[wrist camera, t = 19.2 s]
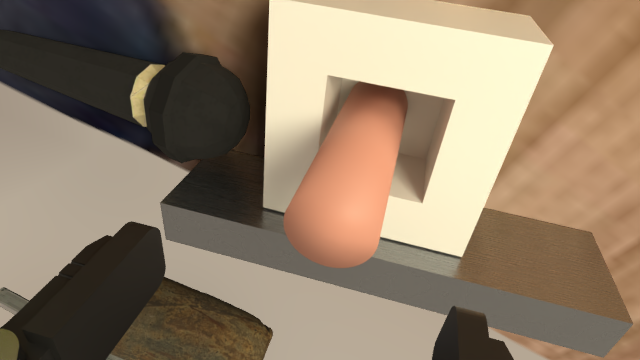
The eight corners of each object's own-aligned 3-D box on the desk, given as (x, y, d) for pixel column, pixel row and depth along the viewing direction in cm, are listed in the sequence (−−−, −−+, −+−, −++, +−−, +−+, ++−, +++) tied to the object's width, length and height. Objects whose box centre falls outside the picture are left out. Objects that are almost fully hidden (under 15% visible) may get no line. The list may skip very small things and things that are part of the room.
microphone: (20, 47, 29) (272, 125, 24) (-54, 96, 26) (222, 198, 21) (-32, -32, 25) (263, 45, 20) (-128, 15, 21) (197, 120, 17)
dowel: (344, 125, 22) (281, 254, 14) (352, 70, 20) (285, 181, 12) (400, 137, 21) (369, 278, 13) (413, 82, 19) (388, 205, 11)
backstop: (216, 179, 27) (165, 239, 22) (214, 146, 25) (160, 202, 20) (570, 264, 23) (603, 357, 19) (591, 232, 22) (633, 323, 17)
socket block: (292, 158, 25) (263, 207, 21) (306, -22, 19) (269, -4, 15) (459, 196, 23) (462, 257, 19) (528, 14, 18) (553, 45, 14)
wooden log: (118, 292, 37) (63, 357, 32) (112, 239, 33) (47, 303, 28) (271, 350, 36) (240, 427, 31) (284, 302, 32) (251, 382, 27)
